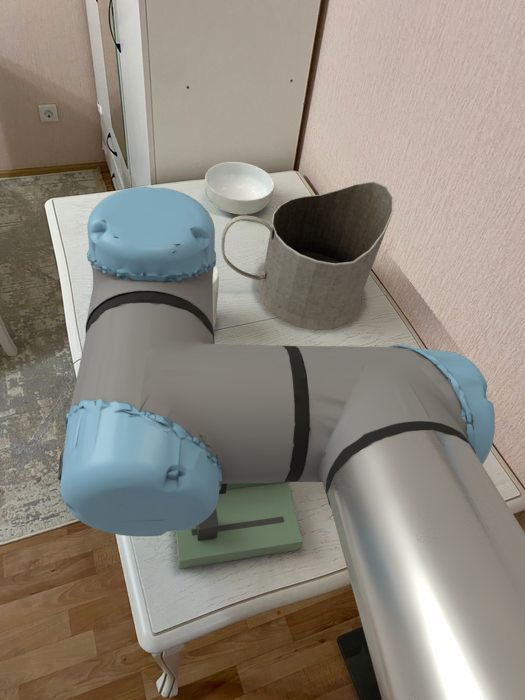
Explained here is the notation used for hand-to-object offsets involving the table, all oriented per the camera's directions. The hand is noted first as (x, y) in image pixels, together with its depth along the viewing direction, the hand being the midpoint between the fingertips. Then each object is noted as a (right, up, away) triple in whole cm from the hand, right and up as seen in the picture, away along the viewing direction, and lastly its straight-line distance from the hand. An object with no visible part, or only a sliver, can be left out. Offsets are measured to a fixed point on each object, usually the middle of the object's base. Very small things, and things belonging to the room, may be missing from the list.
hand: (163, 490), depth 57 cm
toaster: (+6, -7, +20) cm, 22 cm away
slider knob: (+4, -9, +12) cm, 15 cm away
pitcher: (+17, +27, +51) cm, 60 cm away
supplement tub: (-3, +20, +41) cm, 46 cm away
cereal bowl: (+5, +52, +70) cm, 88 cm away
